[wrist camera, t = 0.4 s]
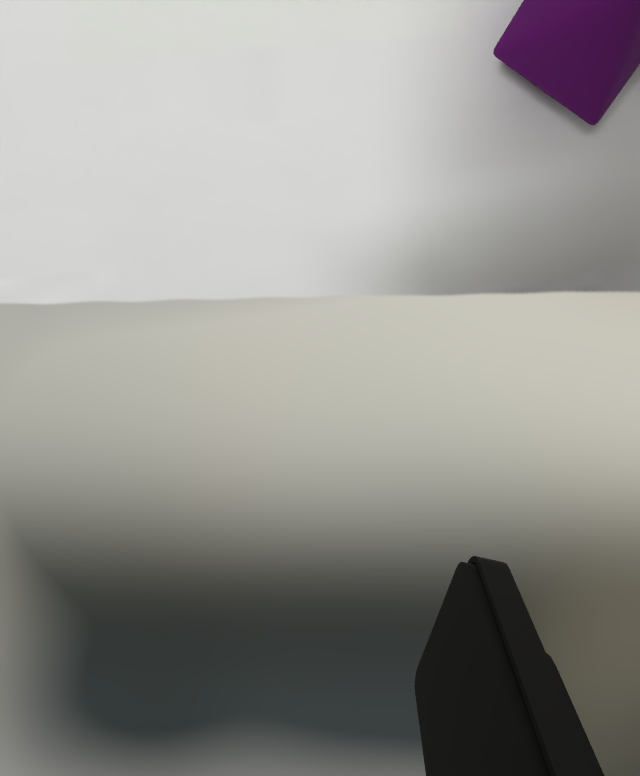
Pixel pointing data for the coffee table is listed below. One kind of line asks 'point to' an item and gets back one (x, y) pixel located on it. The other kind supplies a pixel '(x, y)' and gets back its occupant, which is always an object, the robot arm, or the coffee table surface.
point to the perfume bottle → (575, 50)
